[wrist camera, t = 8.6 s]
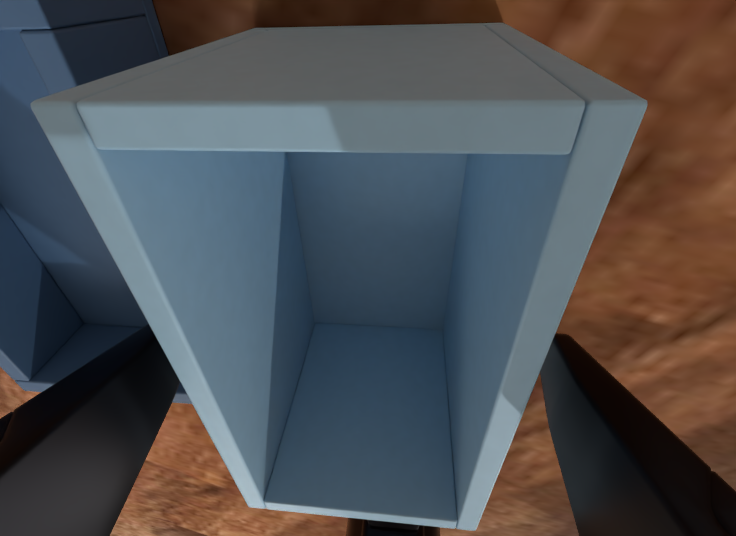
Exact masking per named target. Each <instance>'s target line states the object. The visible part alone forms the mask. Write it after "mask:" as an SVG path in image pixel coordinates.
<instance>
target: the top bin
mask: <svg viewBox="0 0 736 536" xmlns="http://www.w3.org/2000/svg"><path fill="white" fill-rule="evenodd" d="M30 105H31V109H32V111H33V112H34V114H35V116H36V118H37V120H38V122H39V123H40V125H41V127H42V129H43V131H44V133H45V134H46V136H47V138H48V140H49V142H50V144H51V145H52V147H53V149H54V151H55V153H56V155H57V156H58V158H59V160H60V162H61V164H62V166H63V167H64V169H65V171H66V173H67V175H68V177H69V178H70V180H71V182H72V184H73V186H74V188H75V189H76V191H77V193H78V195H79V197H80V199H81V200H82V202H83V204H84V206H85V208H86V210H87V211H88V213H89V215H90V217H91V219H92V221H93V222H94V224H95V226H96V228H97V230H98V232H99V233H100V235H101V237H102V239H103V241H104V243H105V244H106V246H107V248H108V250H109V252H110V254H111V255H112V257H113V259H114V261H115V263H116V265H117V266H118V268H119V270H120V272H121V274H122V276H123V277H124V279H125V281H126V283H127V285H128V287H129V288H130V290H131V292H132V294H133V296H134V298H135V299H136V301H137V303H138V305H139V307H140V309H141V310H142V312H143V314H144V316H145V318H146V320H147V321H148V323H149V325H150V327H151V329H152V331H153V332H154V334H155V336H156V338H157V340H158V342H159V343H160V345H161V347H162V349H163V351H164V353H165V354H166V356H167V358H168V360H169V362H170V364H171V365H172V367H173V369H174V371H175V373H176V375H177V376H178V378H179V380H180V382H181V384H182V386H183V387H184V389H185V391H186V393H187V395H188V397H189V398H190V400H191V402H192V404H193V406H194V408H195V409H196V411H197V413H198V415H199V417H200V419H201V420H202V422H203V424H204V426H205V428H206V430H207V431H208V433H209V435H210V437H211V439H212V441H213V442H214V444H215V446H216V448H217V450H218V452H219V453H220V455H221V457H222V459H223V461H224V463H225V464H226V466H227V468H228V470H229V472H230V474H231V475H232V477H233V479H234V481H235V483H236V485H237V486H238V488H239V490H240V492H241V494H242V496H243V497H244V499H245V501H246V503H247V505H248V506H249V507H253V508H263V509H264V508H267V509H271V510H280V511H290V512H299V513H309V514H319V515H328V516H338V517H347V518H357V519H367V520H376V521H386V522H395V523H405V524H415V525H424V526H434V527H443V528H453V529H454V528H455V527H456V528H457V529H463V530H472V531H475V530H476V528H477V526H478V523H479V521H480V519H481V516H482V514H483V511H484V509H485V506H486V504H487V501H488V499H489V496H490V494H491V491H492V489H493V486H494V484H495V481H496V479H497V476H498V474H499V472H500V469H501V467H502V464H503V462H504V459H505V457H506V454H507V452H508V449H509V447H510V444H511V442H512V439H513V437H514V434H515V432H516V429H517V427H518V425H519V422H520V420H521V417H522V415H523V412H524V410H525V407H526V405H527V402H528V400H529V397H530V395H531V392H532V390H533V387H534V385H535V383H536V380H537V378H538V375H539V373H540V370H541V368H542V365H543V363H544V360H545V358H546V355H547V353H548V350H549V348H550V345H551V343H552V340H553V338H554V336H555V333H556V331H557V328H558V326H559V323H560V321H561V318H562V316H563V313H564V311H565V308H566V306H567V303H568V301H569V298H570V296H571V294H572V291H573V289H574V286H575V284H576V281H577V279H578V276H579V274H580V271H581V269H582V266H583V264H584V261H585V259H586V256H587V254H588V251H589V249H590V247H591V244H592V242H593V239H594V237H595V234H596V232H597V229H598V227H599V224H600V222H601V219H602V217H603V214H604V212H605V209H606V207H607V204H608V202H609V200H610V197H611V195H612V192H613V190H614V187H615V185H616V182H617V180H618V177H619V175H620V172H621V170H622V167H623V165H624V162H625V160H626V158H627V155H628V153H629V150H630V148H631V145H632V143H633V140H634V138H635V135H636V133H637V130H638V128H639V125H640V123H641V120H642V118H643V115H644V113H645V111H646V108H647V100H645V99H643V98H641V97H639V96H637V95H635V94H634V93H632V92H630V91H628V90H626V89H624V88H623V87H621V86H619V85H617V84H615V83H613V82H612V81H610V80H608V79H606V78H604V77H602V76H601V75H599V74H597V73H595V72H593V71H591V70H590V69H588V68H586V67H584V66H582V65H580V64H578V63H577V62H575V61H573V60H571V59H569V58H567V57H566V56H564V55H562V54H560V53H558V52H556V51H555V50H553V49H551V48H549V47H547V46H545V45H544V44H542V43H540V42H538V41H536V40H534V39H533V38H531V37H529V36H527V35H525V34H523V33H521V32H520V31H518V30H516V29H514V28H512V27H510V26H509V25H507V24H505V23H464V24H418V25H371V26H324V27H277V28H253V29H250V30H247V31H244V32H241V33H238V34H235V35H232V36H229V37H226V38H223V39H220V40H217V41H214V42H211V43H207V44H204V45H201V46H198V47H195V48H192V49H189V50H186V51H183V52H180V53H177V54H174V55H171V56H168V57H165V58H162V59H159V60H156V61H153V62H150V63H147V64H143V65H140V66H137V67H134V68H131V69H128V70H125V71H122V72H119V73H116V74H113V75H110V76H107V77H104V78H101V79H98V80H95V81H92V82H89V83H86V84H83V85H80V86H76V87H73V88H70V89H67V90H64V91H61V92H58V93H55V94H52V95H49V96H46V97H43V98H40V99H37V100H34V101H33V102H32V103H31V104H30Z"/></svg>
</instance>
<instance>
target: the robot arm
mask: <svg viewBox="0 0 736 536" xmlns="http://www.w3.org/2000/svg"><path fill="white" fill-rule="evenodd" d="M540 375H541V381H542V387H543V394H544V400H545V406H546V413H547V418H548V424H549V428H550V432H551V436H552V440H553V444H554V447H555V451H556V454H557V458H558V461H559V465H560V468H561V472H562V476H563V479H564V483H565V486H566V490H567V493H568V497H569V501H570V504H571V508H572V511H573V515H574V518H575V522H576V525H577V529H578V533H579V536H736V491H735V490H734V489H733V488H732V487H730V486H729V485H728V484H727V483H726V482H725V481H724V480H723V479H722V478H721V477H720V476H719V475H718V474H717V473H715V472H714V471H711V469H710V467H709V466H708V465H707V464H706V463H705V462H704V461H703V460H702V459H700V458H699V457H698V456H697V455H696V454H695V453H694V452H693V451H692V450H691V449H690V448H689V447H688V446H687V445H686V444H684V443H683V442H682V441H681V440H680V439H679V438H678V437H677V436H676V435H675V434H674V433H673V432H672V431H671V430H670V429H669V428H667V427H666V426H665V425H664V424H663V423H662V422H661V421H660V420H659V419H658V418H657V417H656V416H655V415H654V414H653V413H651V412H650V411H649V410H648V409H647V408H646V407H645V406H644V405H643V404H642V403H641V402H640V401H639V400H638V399H637V398H635V397H634V396H633V395H632V394H631V393H630V392H629V391H628V390H627V389H626V388H625V387H624V386H623V385H622V384H621V383H620V382H618V381H617V380H616V379H615V378H614V377H613V376H612V375H611V374H610V373H609V372H608V371H607V370H606V369H605V368H604V367H602V366H601V365H600V364H599V363H598V362H597V361H596V360H595V359H594V358H593V357H592V356H591V355H590V354H589V353H588V352H587V351H585V350H584V349H583V348H582V347H581V346H580V345H579V344H578V343H577V342H576V341H575V340H574V339H573V338H572V337H570V336H569V335H567V334H557V333H555V336H554V338H553V340H552V343H551V345H550V348H549V350H548V353H547V355H546V358H545V360H544V363H543V365H542V368H541V370H540ZM179 383H180V380H179V378H178V376H177V375H176V373H175V371H174V369H173V367H172V365H171V364H170V362H169V360H168V358H167V356H166V354H165V353H164V351H163V349H162V347H161V345H160V343H159V342H158V340H157V338H156V336H155V334H154V332H153V331H152V329H151V327H150V325H149V324H147V325H146V326H144V327H143V328H141V329H139V330H138V331H136V332H135V333H133V334H132V335H130V336H129V337H127V338H125V339H124V340H122V341H121V342H119V343H118V344H116V345H115V346H113V347H111V348H110V349H108V350H107V351H105V352H104V353H102V354H101V355H99V356H97V357H96V358H94V359H93V360H91V361H90V362H88V363H87V364H85V365H83V366H82V367H80V368H79V369H77V370H76V371H74V372H72V373H71V374H69V375H68V376H66V377H65V378H63V379H62V380H60V381H58V382H57V383H55V384H54V385H52V386H51V387H49V388H48V389H46V390H44V391H43V392H41V393H40V394H38V395H37V396H35V397H34V398H32V399H30V400H29V401H27V402H26V403H24V404H23V405H21V406H20V407H18V408H16V409H15V410H14V412H10V413H8V414H7V415H5V416H4V417H2V418H1V419H0V536H110V534H111V532H112V529H113V527H114V525H115V523H116V521H117V519H118V517H119V515H120V512H121V510H122V508H123V506H124V504H125V502H126V500H127V497H128V495H129V493H130V491H131V489H132V487H133V485H134V483H135V480H136V478H137V476H138V474H139V472H140V470H141V468H142V466H143V463H144V461H145V459H146V457H147V455H148V453H149V451H150V449H151V446H152V444H153V442H154V440H155V438H156V436H157V434H158V431H159V429H160V427H161V425H162V423H163V421H164V419H165V417H166V414H167V412H168V410H169V408H170V406H171V404H172V401H173V399H174V397H175V394H176V392H177V389H178V386H179ZM346 536H440V527H434V526H424V525H415V524H405V523H395V522H386V521H376V520H367V519H357V518H348V524H347V532H346Z"/></svg>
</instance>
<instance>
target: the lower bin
mask: <svg viewBox="0 0 736 536" xmlns="http://www.w3.org/2000/svg"><path fill="white" fill-rule="evenodd" d="M168 56H169V55H168V51H167V48H166V45H165V42H164V38H163V35H162V32H161V29H160V25H159V22H158V19H157V16H156V12H155V9H154V6H153V3H152V0H0V367H1V368H2V369H3V370H4V371H5V372H6V373H7V374H8V375H9V376H10V377H11V378H12V379H14V380H15V382H16V383H17V384H18V385H19V386H20V387H21V388H22V389H23V390H25V391H36V392H43V391H44V390H46V389H48V388H49V387H51V386H52V385H54V384H55V383H57V382H58V381H60V380H62V379H63V378H65V377H66V376H68V375H69V374H71V373H72V372H74V371H76V370H77V369H79V368H80V367H82V366H83V365H85V364H87V363H88V362H90V361H91V360H93V359H94V358H96V357H97V356H99V355H101V354H102V353H104V352H105V351H107V350H108V349H110V348H111V347H113V346H115V345H116V344H118V343H119V342H121V341H122V340H124V339H125V338H127V337H129V336H130V335H132V334H133V333H135V332H136V331H138V330H139V329H141V328H143V327H144V326H146V325H147V324H149V323H148V321H147V320H146V318H145V316H144V314H143V312H142V310H141V309H140V307H139V305H138V303H137V301H136V299H135V298H134V296H133V294H132V292H131V290H130V288H129V287H128V285H127V283H126V281H125V279H124V277H123V276H122V274H121V272H120V270H119V268H118V266H117V265H116V263H115V261H114V259H113V257H112V255H111V254H110V252H109V250H108V248H107V246H106V244H105V243H104V241H103V239H102V237H101V235H100V233H99V232H98V230H97V228H96V226H95V224H94V222H93V221H92V219H91V217H90V215H89V213H88V211H87V210H86V208H85V206H84V204H83V202H82V200H81V199H80V197H79V195H78V193H77V191H76V189H75V188H74V186H73V184H72V182H71V180H70V178H69V177H68V175H67V173H66V171H65V169H64V167H63V166H62V164H61V162H60V160H59V158H58V156H57V155H56V153H55V151H54V149H53V147H52V145H51V144H50V142H49V140H48V138H47V136H46V134H45V133H44V131H43V129H42V127H41V125H40V123H39V122H38V120H37V118H36V116H35V114H34V112H33V111H32V109H31V105H30V104H31V103H32V102H33V101H34V100H37V99H40V98H43V97H46V96H49V95H52V94H55V93H58V92H61V91H64V90H67V89H70V88H73V87H76V86H80V85H83V84H86V83H89V82H92V81H95V80H98V79H101V78H104V77H107V76H110V75H113V74H116V73H119V72H122V71H125V70H128V69H131V68H134V67H137V66H140V65H143V64H147V63H150V62H153V61H156V60H159V59H162V58H165V57H168ZM172 402H175V403H188V404H192V402H191V400H190V398H189V397H188V395H187V393H186V391H185V389H184V387H183V386H182V384H181V382H180V383H179V386H178V389H177V392H176V394H175V397H174V399H173V401H172Z"/></svg>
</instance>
